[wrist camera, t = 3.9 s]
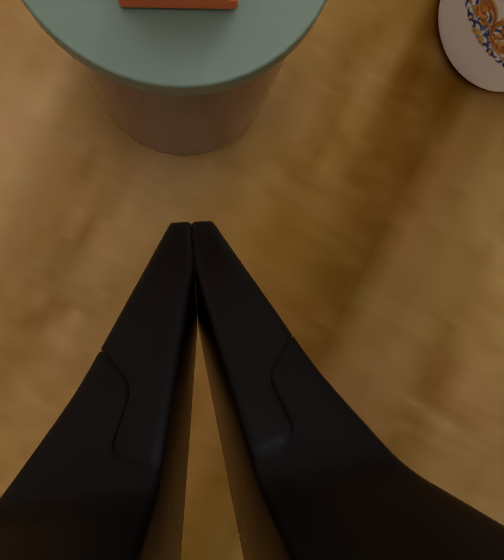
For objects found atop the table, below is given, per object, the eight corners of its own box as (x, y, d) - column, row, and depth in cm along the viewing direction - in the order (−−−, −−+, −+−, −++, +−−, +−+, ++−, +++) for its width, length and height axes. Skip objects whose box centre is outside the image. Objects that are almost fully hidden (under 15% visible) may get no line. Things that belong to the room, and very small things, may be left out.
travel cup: (279, 159, 21) (352, 85, 12) (91, 164, 20) (-3, 87, 10) (271, -32, 20) (341, -280, 11) (75, -38, 19) (-40, -320, 10)
